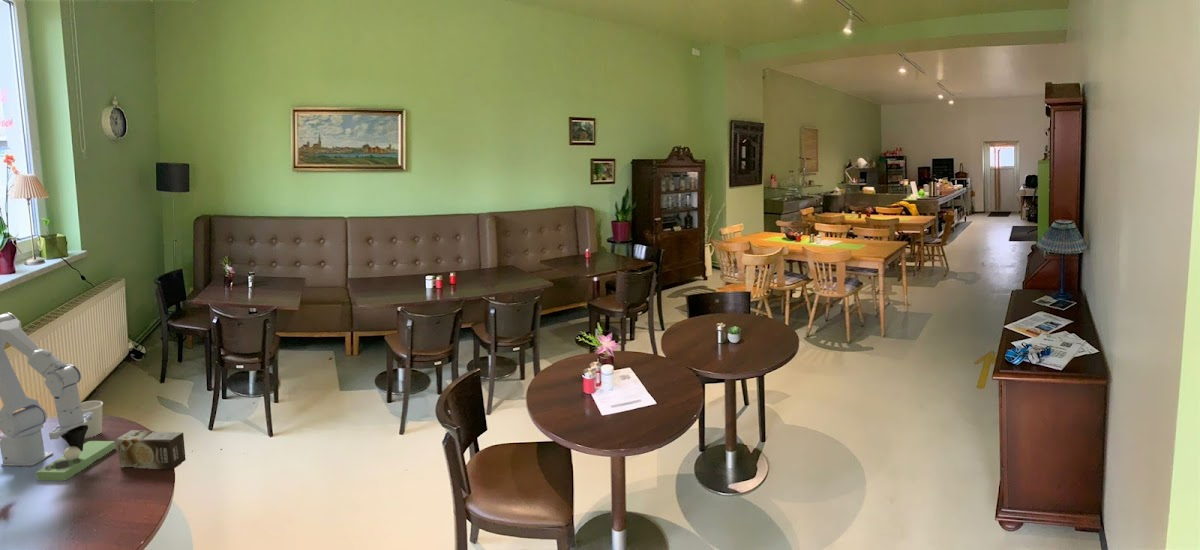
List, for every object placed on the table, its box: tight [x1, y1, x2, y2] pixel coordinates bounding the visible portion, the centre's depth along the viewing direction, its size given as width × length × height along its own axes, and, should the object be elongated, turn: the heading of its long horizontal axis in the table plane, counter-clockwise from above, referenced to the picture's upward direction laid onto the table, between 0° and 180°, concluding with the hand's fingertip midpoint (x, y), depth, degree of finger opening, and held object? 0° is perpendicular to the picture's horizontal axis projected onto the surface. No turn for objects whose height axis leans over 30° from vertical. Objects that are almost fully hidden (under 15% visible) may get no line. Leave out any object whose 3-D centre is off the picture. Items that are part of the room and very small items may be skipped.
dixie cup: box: [81, 400, 104, 439], centre depth 220 cm, size 8×8×10 cm
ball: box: [63, 446, 81, 460], centre depth 198 cm, size 4×4×4 cm
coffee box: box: [116, 429, 187, 471], centre depth 201 cm, size 9×6×16 cm
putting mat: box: [35, 440, 117, 481], centre depth 201 cm, size 8×20×2 cm, turn 0°
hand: (77, 451), depth 199 cm, fingers closed, pressing on ball
